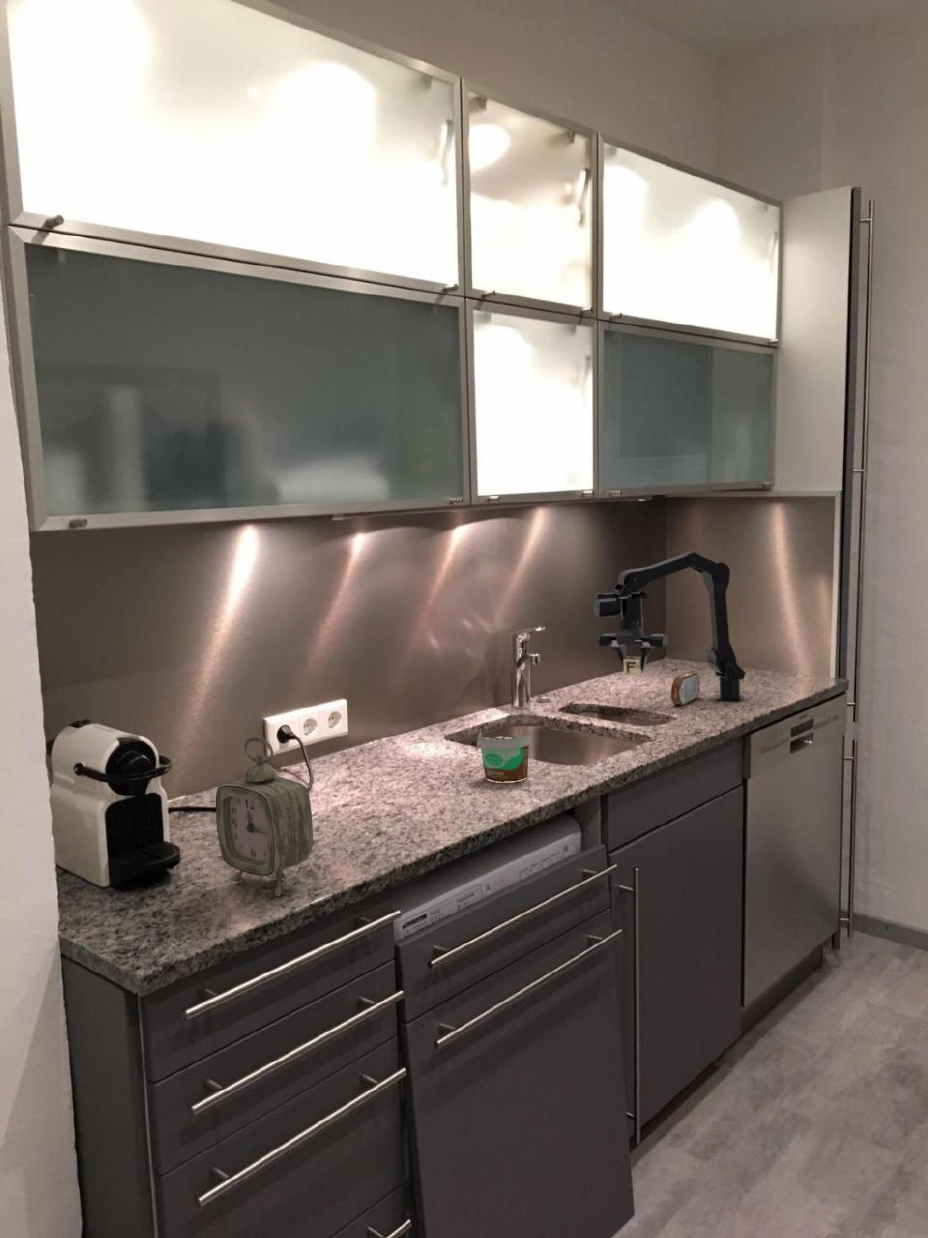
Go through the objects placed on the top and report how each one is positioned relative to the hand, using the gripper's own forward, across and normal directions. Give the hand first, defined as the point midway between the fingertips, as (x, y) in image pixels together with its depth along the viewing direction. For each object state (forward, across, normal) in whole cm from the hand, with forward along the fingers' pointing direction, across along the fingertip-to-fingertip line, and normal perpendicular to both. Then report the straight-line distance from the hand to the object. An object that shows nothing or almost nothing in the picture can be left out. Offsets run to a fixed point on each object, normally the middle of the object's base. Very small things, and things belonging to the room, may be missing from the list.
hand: (633, 670), depth 286 cm
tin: (+11, +12, +10) cm, 19 cm away
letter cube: (+1, 0, 0) cm, 1 cm away
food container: (+11, -6, -78) cm, 79 cm away
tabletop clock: (+11, -18, -144) cm, 146 cm away
